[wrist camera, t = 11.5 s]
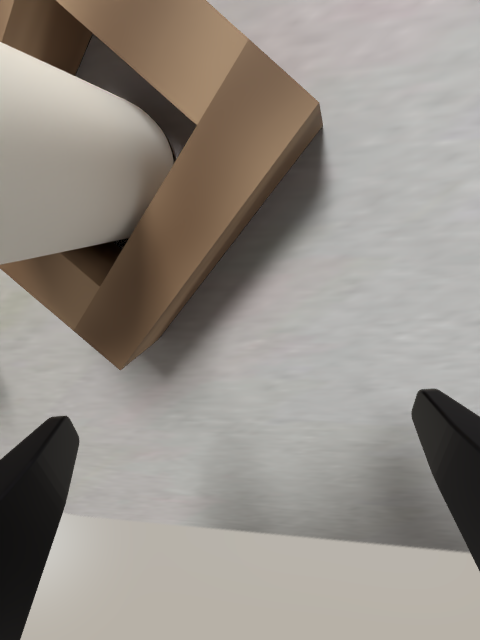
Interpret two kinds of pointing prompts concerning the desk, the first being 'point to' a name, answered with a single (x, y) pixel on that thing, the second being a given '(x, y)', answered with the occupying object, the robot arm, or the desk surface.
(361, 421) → the desk surface
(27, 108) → the can
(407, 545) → the desk surface
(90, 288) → the bored block
